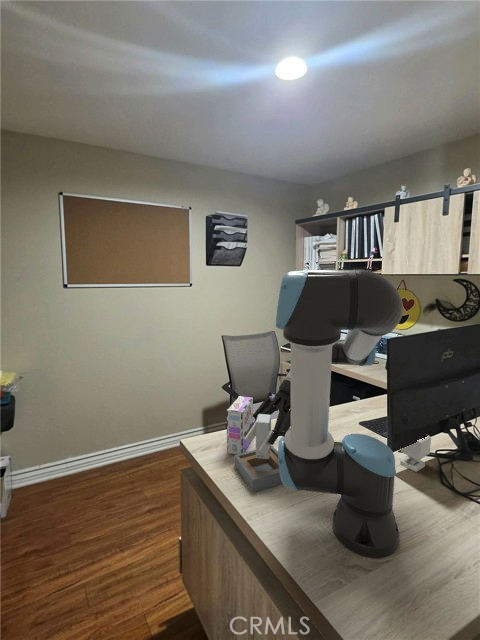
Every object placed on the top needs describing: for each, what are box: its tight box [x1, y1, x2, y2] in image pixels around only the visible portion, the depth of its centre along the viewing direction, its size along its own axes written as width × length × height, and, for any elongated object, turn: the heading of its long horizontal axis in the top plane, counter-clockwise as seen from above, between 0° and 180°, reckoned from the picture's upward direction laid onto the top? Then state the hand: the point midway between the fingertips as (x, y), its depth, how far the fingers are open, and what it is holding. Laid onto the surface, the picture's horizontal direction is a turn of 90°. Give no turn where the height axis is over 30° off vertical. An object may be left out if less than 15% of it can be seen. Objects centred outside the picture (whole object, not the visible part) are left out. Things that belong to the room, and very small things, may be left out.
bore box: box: [234, 445, 283, 493], centre depth 104 cm, size 14×14×4 cm
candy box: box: [226, 395, 254, 455], centre depth 119 cm, size 14×6×16 cm, turn 161°
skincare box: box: [255, 414, 272, 459], centre depth 103 cm, size 6×4×12 cm
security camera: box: [399, 435, 432, 473], centre depth 107 cm, size 6×7×10 cm
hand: (254, 446), depth 101 cm, fingers closed on skincare box, 7 cm apart
